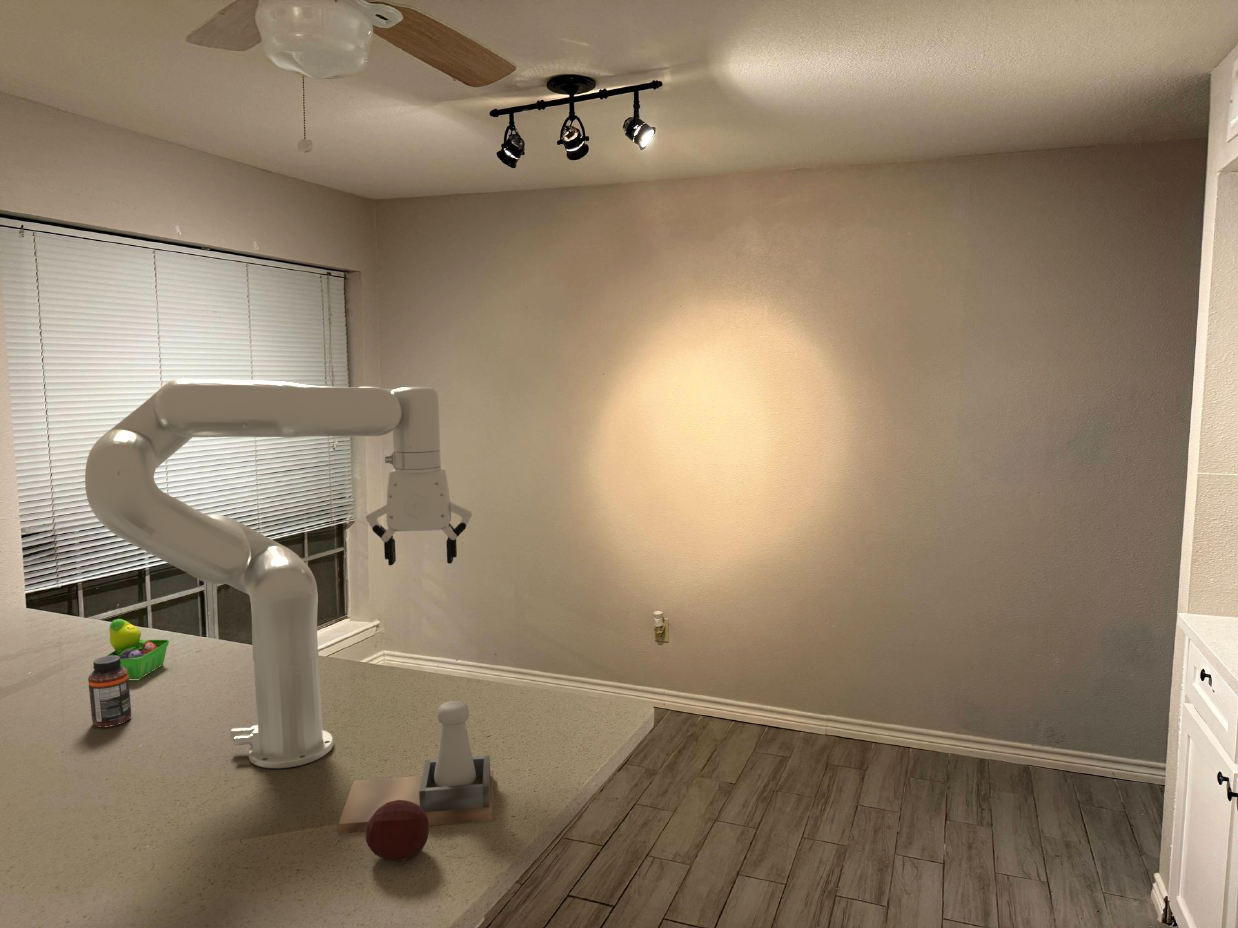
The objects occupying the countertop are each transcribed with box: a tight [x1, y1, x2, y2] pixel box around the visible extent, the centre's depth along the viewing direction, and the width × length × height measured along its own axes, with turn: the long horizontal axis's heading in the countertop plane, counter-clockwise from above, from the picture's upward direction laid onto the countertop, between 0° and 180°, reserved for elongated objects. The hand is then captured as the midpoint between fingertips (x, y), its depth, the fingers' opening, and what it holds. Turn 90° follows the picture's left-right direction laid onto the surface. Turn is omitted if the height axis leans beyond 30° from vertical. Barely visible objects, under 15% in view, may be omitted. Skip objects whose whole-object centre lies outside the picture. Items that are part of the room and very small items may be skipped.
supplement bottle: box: [87, 655, 132, 728], centre depth 149 cm, size 6×6×11 cm
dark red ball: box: [365, 800, 430, 862], centre depth 107 cm, size 7×8×7 cm
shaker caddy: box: [337, 755, 494, 834], centre depth 120 cm, size 20×12×4 cm, turn 98°
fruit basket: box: [106, 618, 170, 679], centre depth 173 cm, size 11×9×11 cm
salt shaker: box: [434, 700, 476, 787], centre depth 120 cm, size 6×6×13 cm
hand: (421, 562), depth 145 cm, fingers open, 9 cm apart
